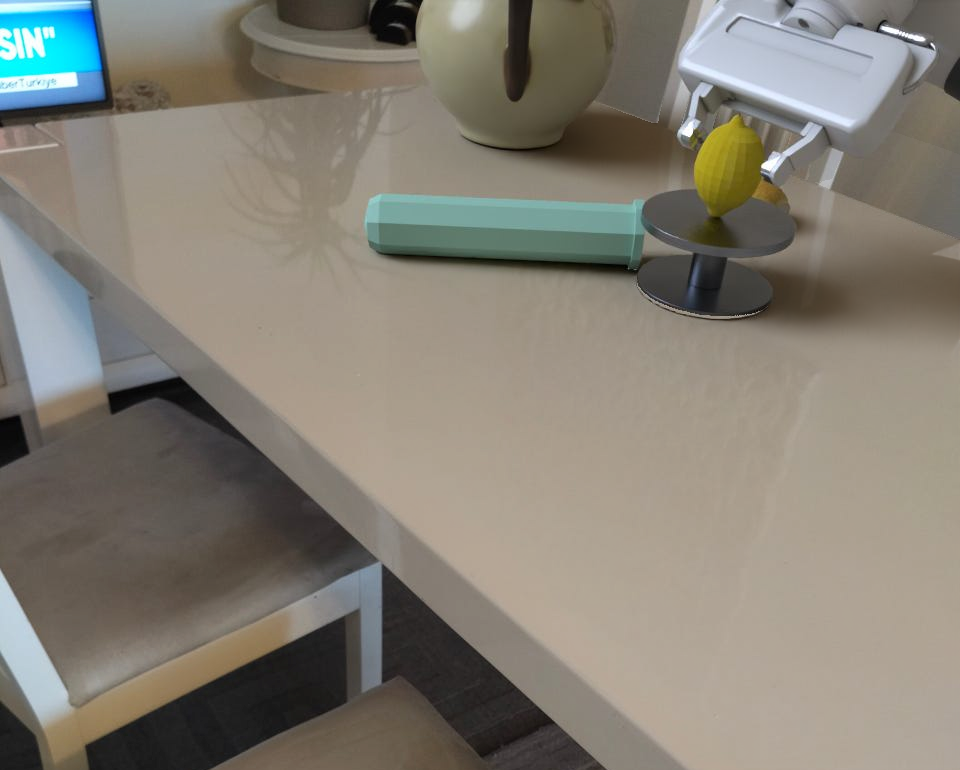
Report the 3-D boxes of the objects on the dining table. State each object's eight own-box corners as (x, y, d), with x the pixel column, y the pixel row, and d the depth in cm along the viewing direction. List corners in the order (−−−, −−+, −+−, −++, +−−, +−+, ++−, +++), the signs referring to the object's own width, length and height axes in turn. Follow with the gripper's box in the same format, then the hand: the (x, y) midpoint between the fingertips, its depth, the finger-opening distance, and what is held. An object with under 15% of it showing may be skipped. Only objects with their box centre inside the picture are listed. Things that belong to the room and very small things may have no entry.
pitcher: (520, 95, 126) (538, -152, 109) (651, 148, 114) (695, -121, 96) (378, 122, 116) (372, -147, 98) (505, 184, 103) (524, -112, 86)
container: (359, 184, 84) (648, 197, 84) (368, 189, 90) (639, 201, 90) (359, 257, 86) (641, 270, 86) (368, 257, 92) (633, 269, 92)
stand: (795, 282, 89) (815, 211, 84) (748, 337, 81) (767, 262, 76) (664, 247, 93) (676, 178, 89) (606, 295, 85) (616, 222, 81)
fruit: (758, 230, 81) (784, 125, 75) (693, 228, 80) (714, 123, 75) (742, 205, 85) (765, 104, 79) (679, 203, 84) (698, 101, 79)
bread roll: (718, 196, 104) (727, 156, 101) (795, 220, 100) (806, 179, 97) (678, 216, 99) (685, 175, 96) (756, 242, 95) (766, 200, 92)
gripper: (960, 72, 73) (835, 228, 76) (759, 12, 85) (657, 149, 87) (946, 8, 68) (813, 177, 71) (735, -46, 80) (627, 100, 82)
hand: (725, 161), depth 79 cm, fingers open, 8 cm apart
